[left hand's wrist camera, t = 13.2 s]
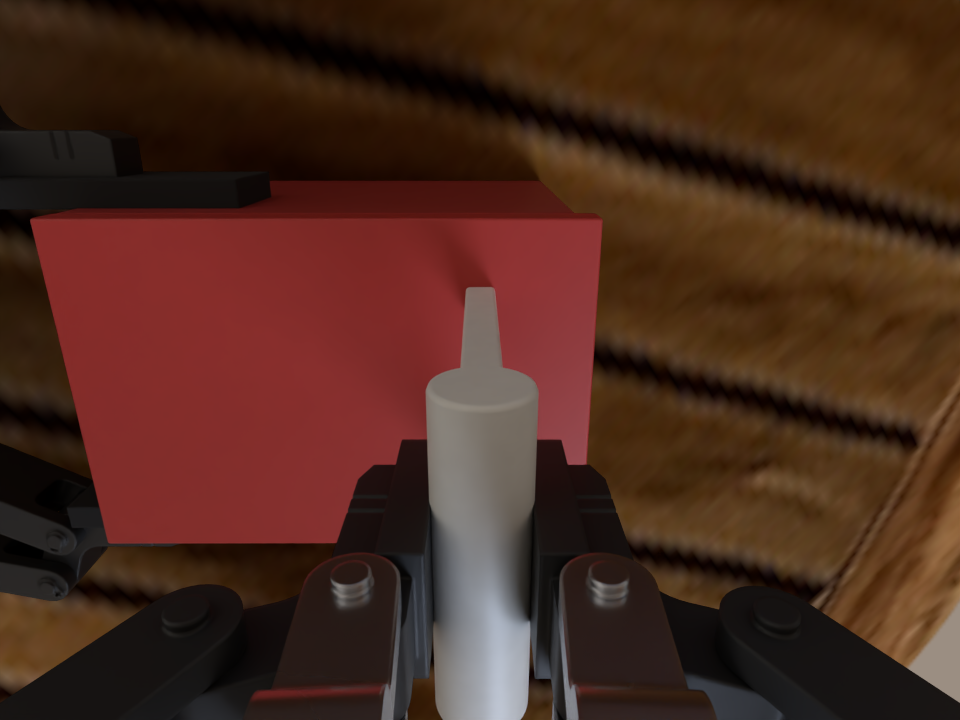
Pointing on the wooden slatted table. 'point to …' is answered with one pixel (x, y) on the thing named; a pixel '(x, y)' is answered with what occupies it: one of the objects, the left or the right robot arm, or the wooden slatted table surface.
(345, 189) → the chest
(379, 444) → the lid
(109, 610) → the wooden slatted table surface
